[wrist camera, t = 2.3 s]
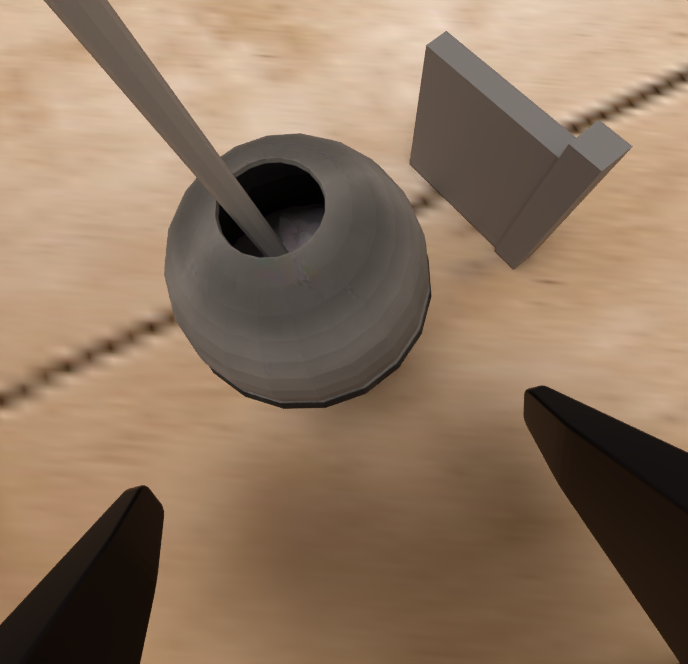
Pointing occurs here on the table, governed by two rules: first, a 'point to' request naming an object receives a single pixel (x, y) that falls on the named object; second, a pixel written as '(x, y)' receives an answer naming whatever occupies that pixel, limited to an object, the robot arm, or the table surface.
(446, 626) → the table surface
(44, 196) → the table surface
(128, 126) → the table surface
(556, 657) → the table surface
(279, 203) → the beverage cup
